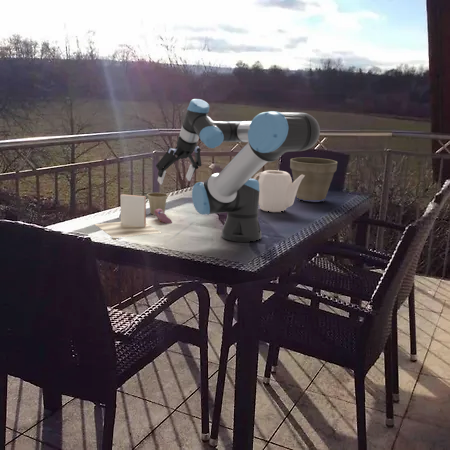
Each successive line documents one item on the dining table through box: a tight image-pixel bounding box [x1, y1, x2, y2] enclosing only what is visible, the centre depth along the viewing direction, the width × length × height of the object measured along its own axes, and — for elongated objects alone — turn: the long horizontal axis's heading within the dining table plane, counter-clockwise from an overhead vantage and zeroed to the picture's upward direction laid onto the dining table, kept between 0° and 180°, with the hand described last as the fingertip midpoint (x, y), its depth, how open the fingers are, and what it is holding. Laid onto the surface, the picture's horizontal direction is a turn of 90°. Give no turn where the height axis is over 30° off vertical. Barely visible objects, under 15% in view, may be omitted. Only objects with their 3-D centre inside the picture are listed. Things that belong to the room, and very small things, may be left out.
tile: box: [120, 193, 147, 227], centre depth 202 cm, size 10×2×12 cm, turn 77°
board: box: [94, 221, 162, 241], centre depth 198 cm, size 22×19×1 cm
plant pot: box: [289, 157, 338, 200], centre depth 273 cm, size 25×25×22 cm
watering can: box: [252, 169, 305, 213], centre depth 243 cm, size 16×27×19 cm, turn 62°
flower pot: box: [146, 192, 169, 215], centre depth 228 cm, size 9×9×9 cm
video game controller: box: [153, 209, 173, 224], centre depth 212 cm, size 10×5×7 cm, turn 21°
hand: (174, 180), depth 207 cm, fingers open, 13 cm apart
